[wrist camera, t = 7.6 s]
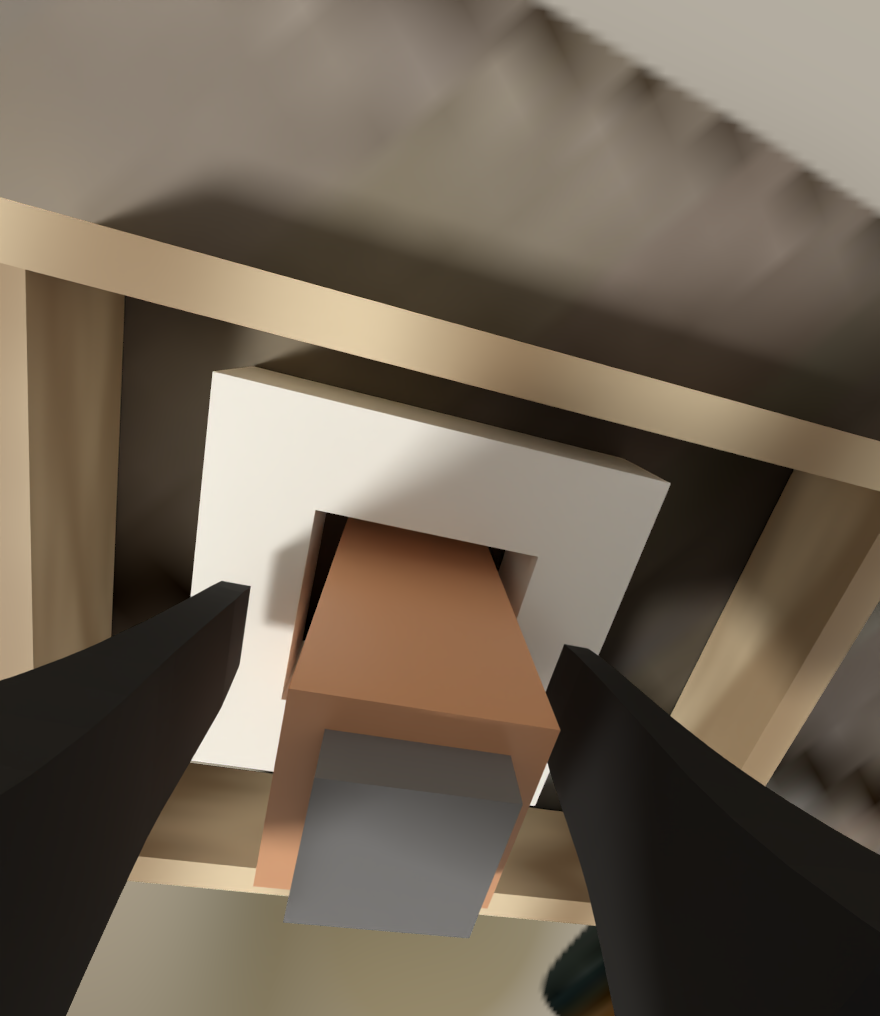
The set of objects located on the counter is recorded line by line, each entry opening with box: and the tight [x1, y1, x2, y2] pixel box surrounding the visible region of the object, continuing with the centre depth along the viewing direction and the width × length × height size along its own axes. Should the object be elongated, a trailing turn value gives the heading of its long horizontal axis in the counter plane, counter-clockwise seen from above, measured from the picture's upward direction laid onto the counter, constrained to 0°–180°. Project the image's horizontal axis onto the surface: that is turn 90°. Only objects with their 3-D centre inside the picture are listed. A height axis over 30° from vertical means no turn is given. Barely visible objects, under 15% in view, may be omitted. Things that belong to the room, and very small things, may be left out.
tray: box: [0, 197, 880, 926], centre depth 13 cm, size 20×16×3 cm
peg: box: [253, 517, 560, 938], centre depth 10 cm, size 4×4×8 cm
